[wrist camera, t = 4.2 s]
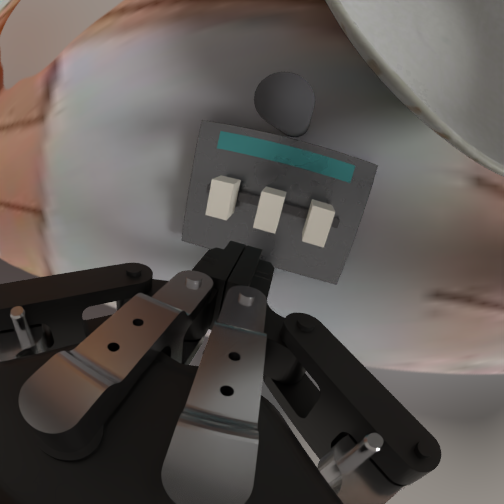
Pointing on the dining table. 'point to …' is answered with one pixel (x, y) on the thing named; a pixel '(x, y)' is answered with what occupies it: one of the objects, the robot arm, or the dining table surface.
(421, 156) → the dining table surface
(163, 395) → the robot arm
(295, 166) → the panel
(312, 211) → the paddles
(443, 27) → the decorative bowl
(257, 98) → the dark gray rounded rod
